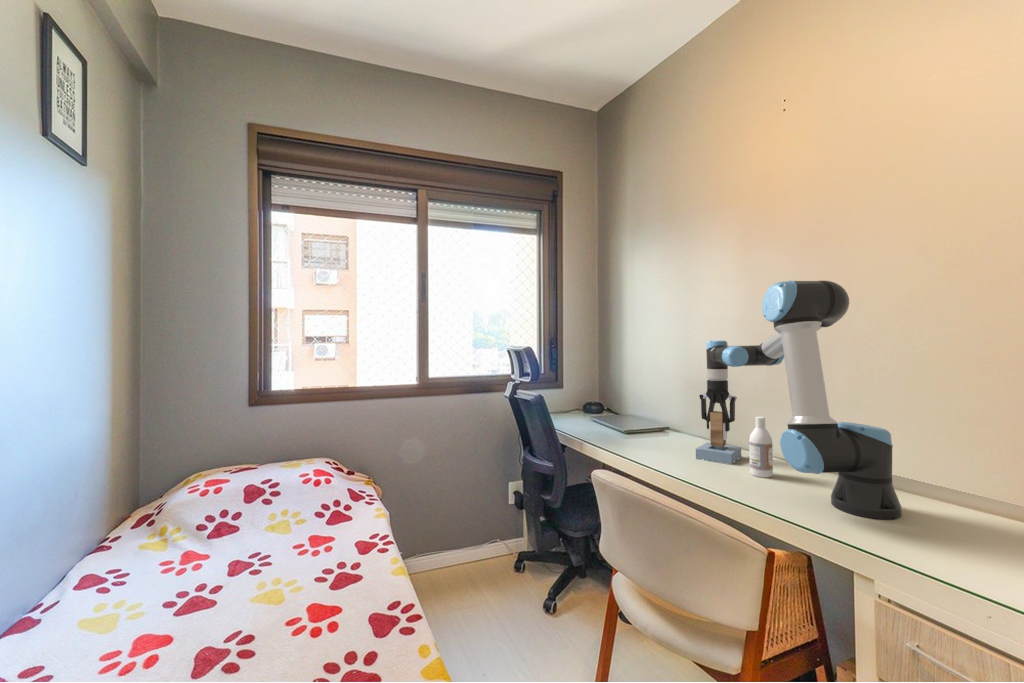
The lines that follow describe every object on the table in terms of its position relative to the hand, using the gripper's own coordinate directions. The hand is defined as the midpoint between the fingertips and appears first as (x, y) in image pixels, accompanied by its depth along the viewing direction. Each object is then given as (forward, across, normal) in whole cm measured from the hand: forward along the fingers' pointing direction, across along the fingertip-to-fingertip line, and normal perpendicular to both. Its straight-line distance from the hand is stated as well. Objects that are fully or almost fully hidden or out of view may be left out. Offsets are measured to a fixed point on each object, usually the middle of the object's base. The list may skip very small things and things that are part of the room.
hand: (718, 438), depth 174 cm
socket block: (+8, 0, 0) cm, 8 cm away
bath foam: (+8, -18, +13) cm, 24 cm away
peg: (+3, 0, 0) cm, 3 cm away
